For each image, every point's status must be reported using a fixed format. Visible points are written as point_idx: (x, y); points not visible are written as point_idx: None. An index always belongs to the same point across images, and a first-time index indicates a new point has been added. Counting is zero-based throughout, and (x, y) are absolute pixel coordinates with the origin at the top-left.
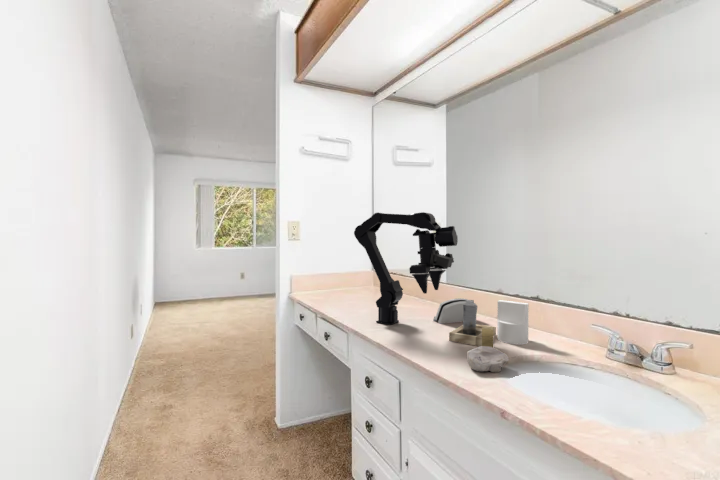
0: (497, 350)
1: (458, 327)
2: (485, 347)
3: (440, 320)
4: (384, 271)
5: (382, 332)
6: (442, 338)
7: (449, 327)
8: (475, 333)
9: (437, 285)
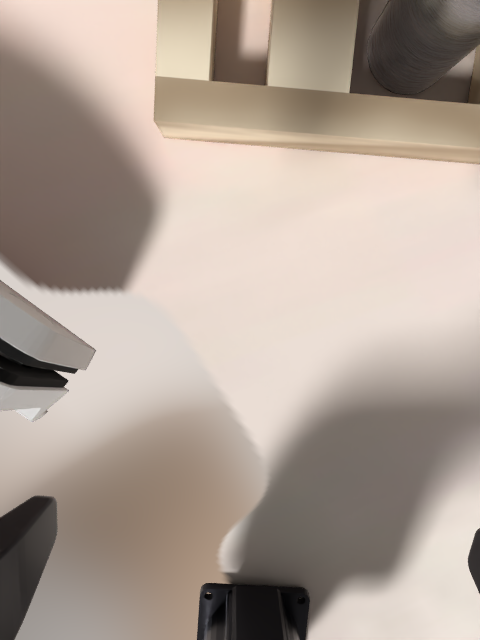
0: None
1: (337, 134)
2: None
3: (87, 352)
4: None
5: None
6: (446, 218)
7: (159, 262)
8: None
9: (12, 557)
